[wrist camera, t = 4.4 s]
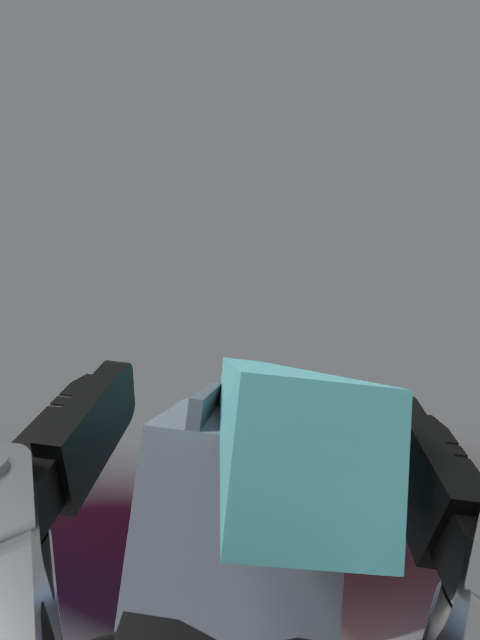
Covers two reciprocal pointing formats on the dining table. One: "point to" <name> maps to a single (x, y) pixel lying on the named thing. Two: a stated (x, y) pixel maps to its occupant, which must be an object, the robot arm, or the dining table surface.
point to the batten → (312, 470)
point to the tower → (208, 544)
